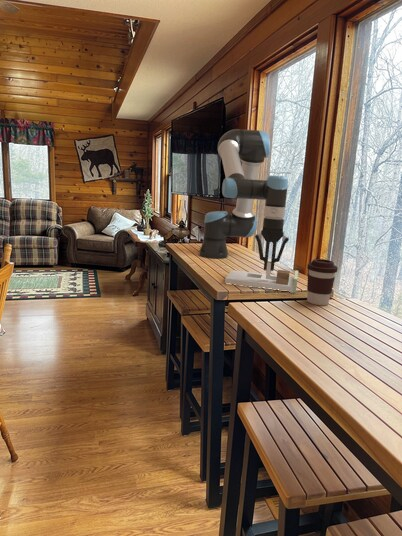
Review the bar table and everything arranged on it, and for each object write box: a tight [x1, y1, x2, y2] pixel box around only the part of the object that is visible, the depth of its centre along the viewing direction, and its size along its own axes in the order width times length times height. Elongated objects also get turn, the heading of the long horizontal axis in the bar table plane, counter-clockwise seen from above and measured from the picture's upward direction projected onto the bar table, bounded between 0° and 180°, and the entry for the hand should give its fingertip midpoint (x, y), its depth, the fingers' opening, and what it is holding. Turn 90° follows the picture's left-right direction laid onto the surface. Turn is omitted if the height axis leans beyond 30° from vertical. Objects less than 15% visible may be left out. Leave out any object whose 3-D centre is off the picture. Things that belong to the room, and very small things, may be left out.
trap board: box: [224, 269, 299, 294], centre depth 154 cm, size 15×27×5 cm, turn 75°
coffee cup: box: [306, 258, 338, 306], centre depth 134 cm, size 10×10×15 cm
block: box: [276, 269, 291, 285], centre depth 149 cm, size 4×4×4 cm
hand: (267, 278), depth 150 cm, fingers closed
